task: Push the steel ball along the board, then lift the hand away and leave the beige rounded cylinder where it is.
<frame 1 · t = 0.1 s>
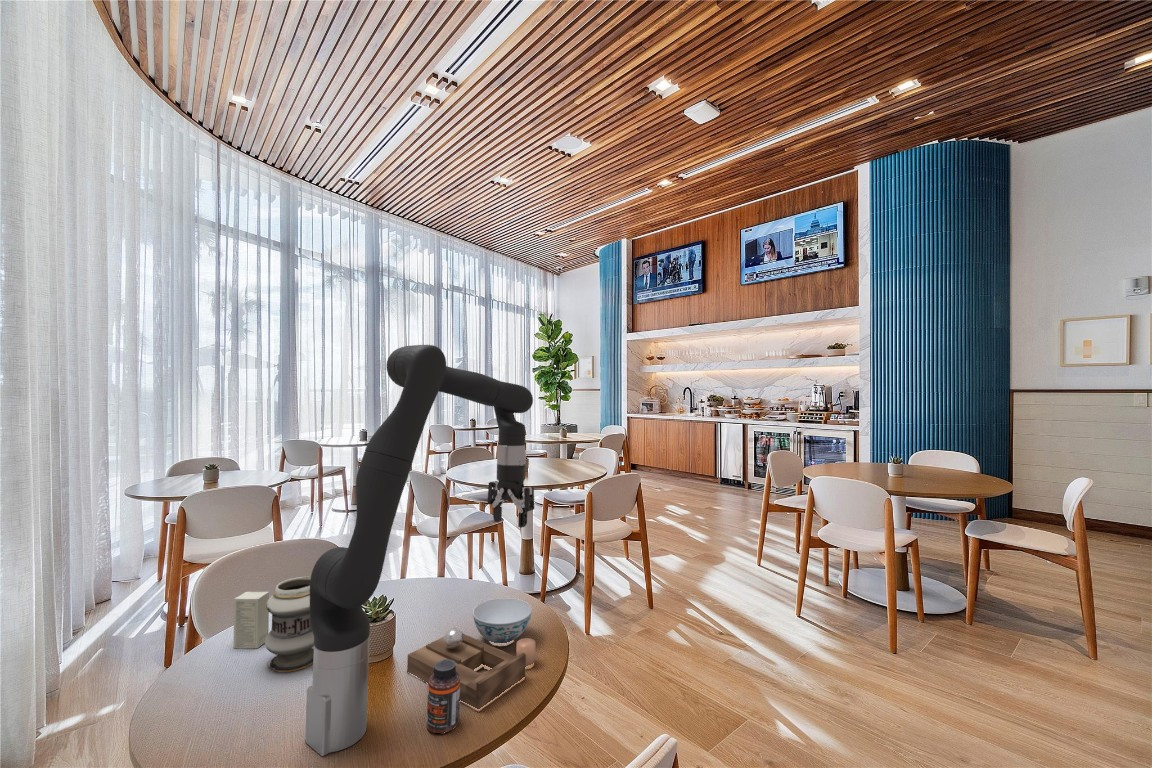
hand: (509, 524, 125), 29 cm above the table, fingers open, 8 cm apart
beige rounded cylinder: (525, 664, 111), on the table
board: (464, 675, 106), on the table
apothecary jar: (294, 661, 111), on the table
chinaware: (501, 641, 122), on the table
skincare box: (250, 645, 118), on the table
supplement bottle: (442, 726, 90), on the table
steel ball: (453, 638, 110), point 6 cm above the table, touching board
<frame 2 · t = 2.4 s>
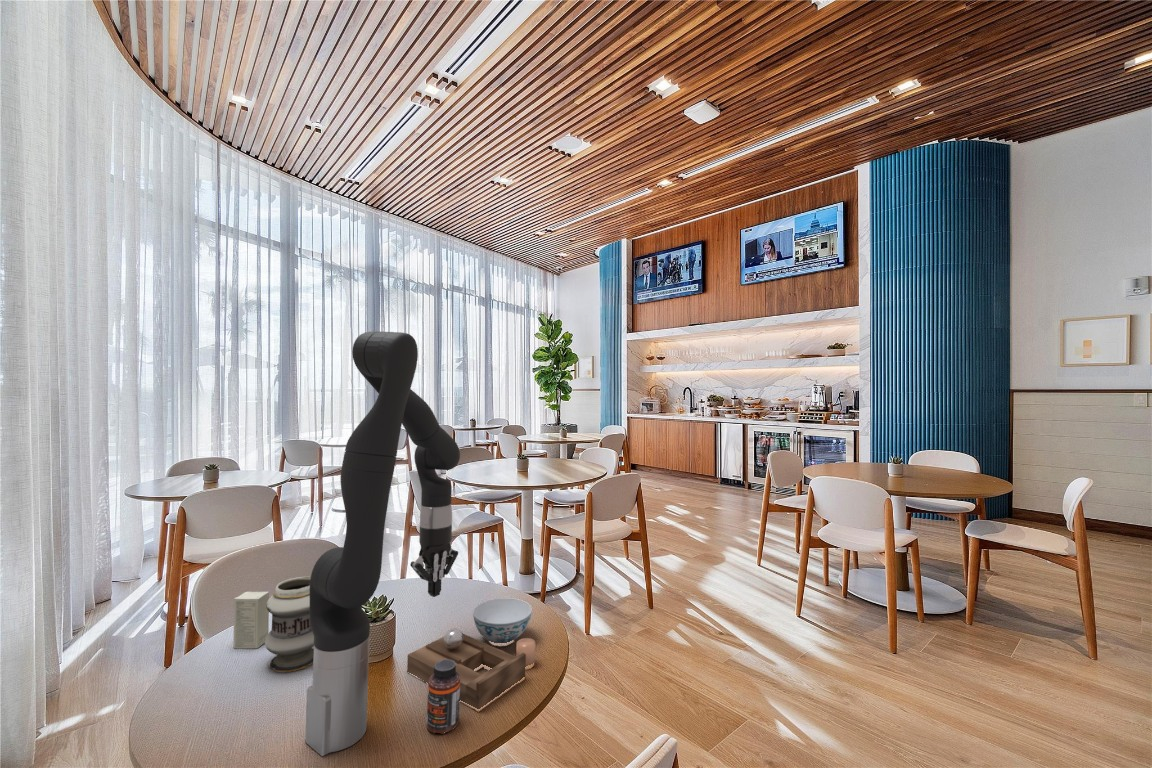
hand: (434, 595, 115), 14 cm above the table, fingers closed
nothing on the table moved.
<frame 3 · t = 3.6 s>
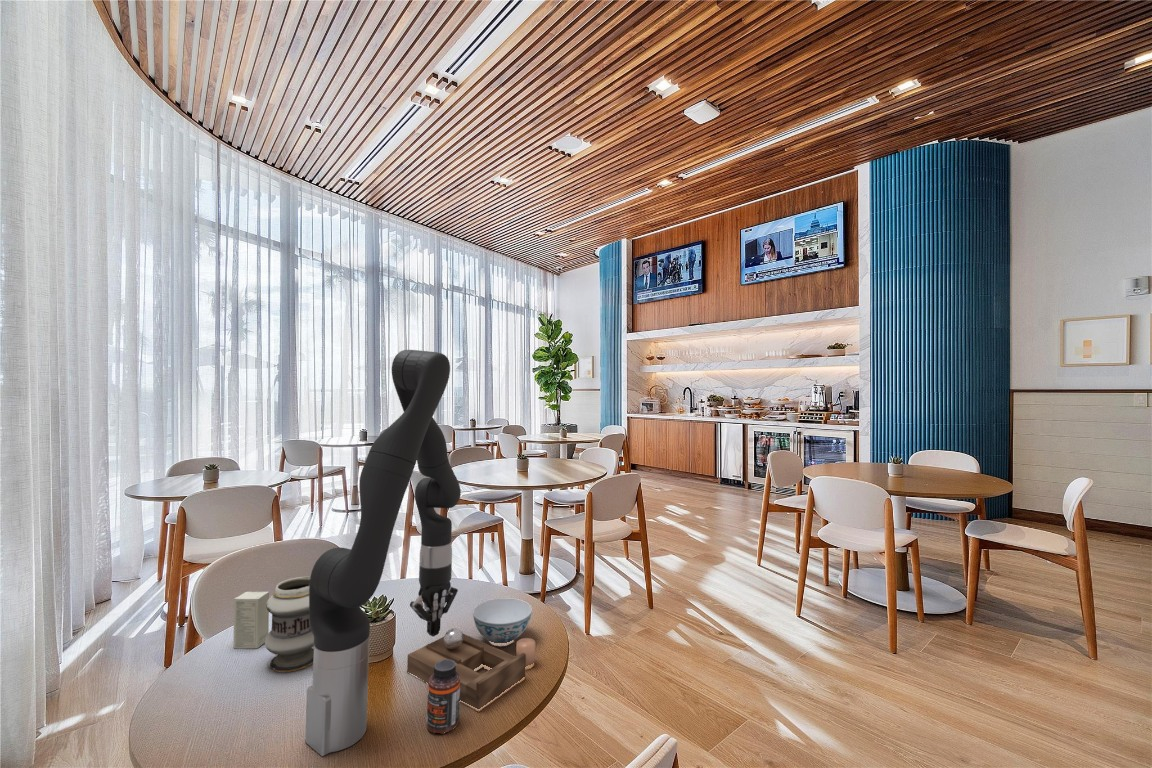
hand: (433, 634, 114), 5 cm above the table, fingers closed
nothing on the table moved.
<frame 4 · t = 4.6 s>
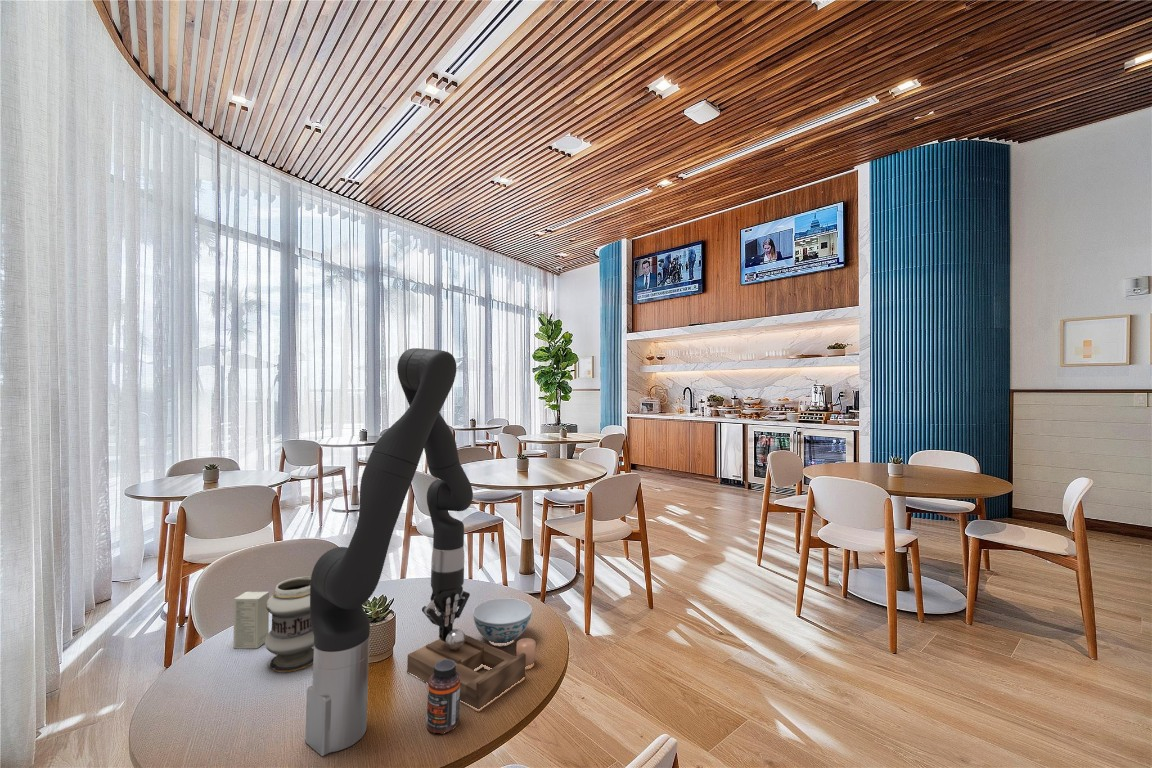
hand: (445, 639, 112), 5 cm above the table, fingers closed
steel ball: (455, 639, 110), point 6 cm above the table, tilted 14°, touching board
everything else where it was.
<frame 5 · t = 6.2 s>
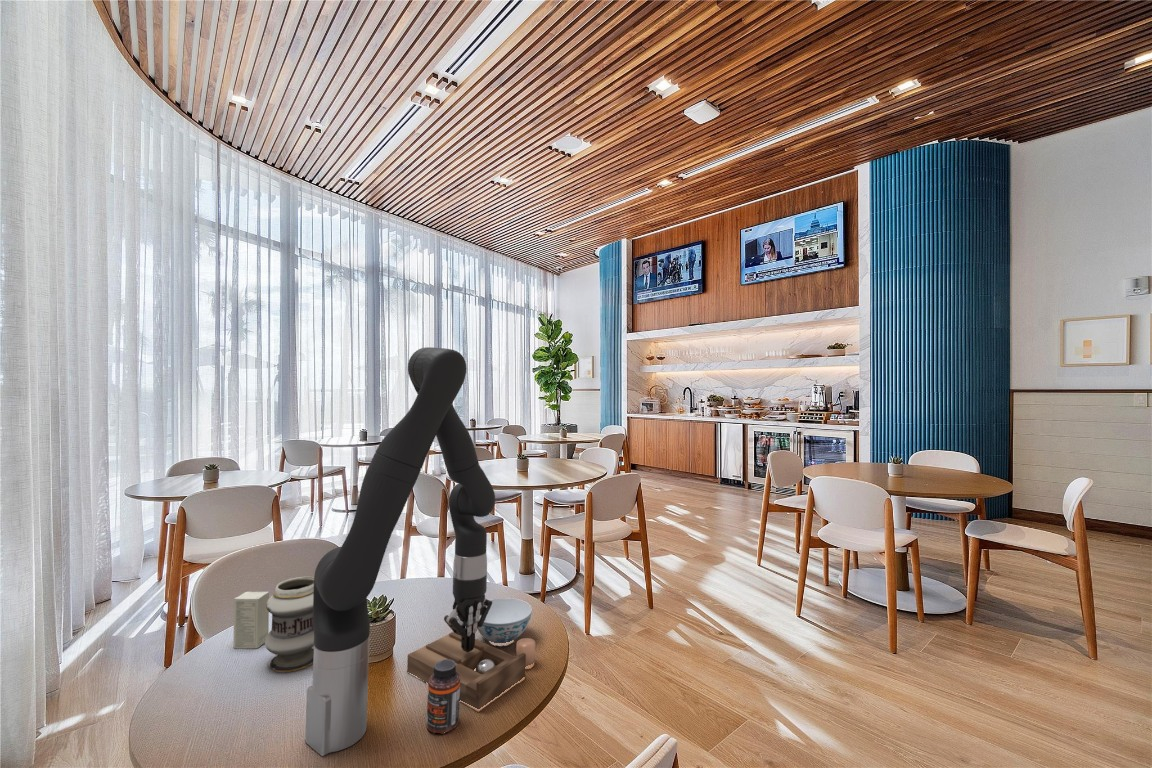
hand: (468, 649, 108), 5 cm above the table, fingers closed
steel ball: (486, 670, 105), point 2 cm above the table, tilted 61°
everything else where it was.
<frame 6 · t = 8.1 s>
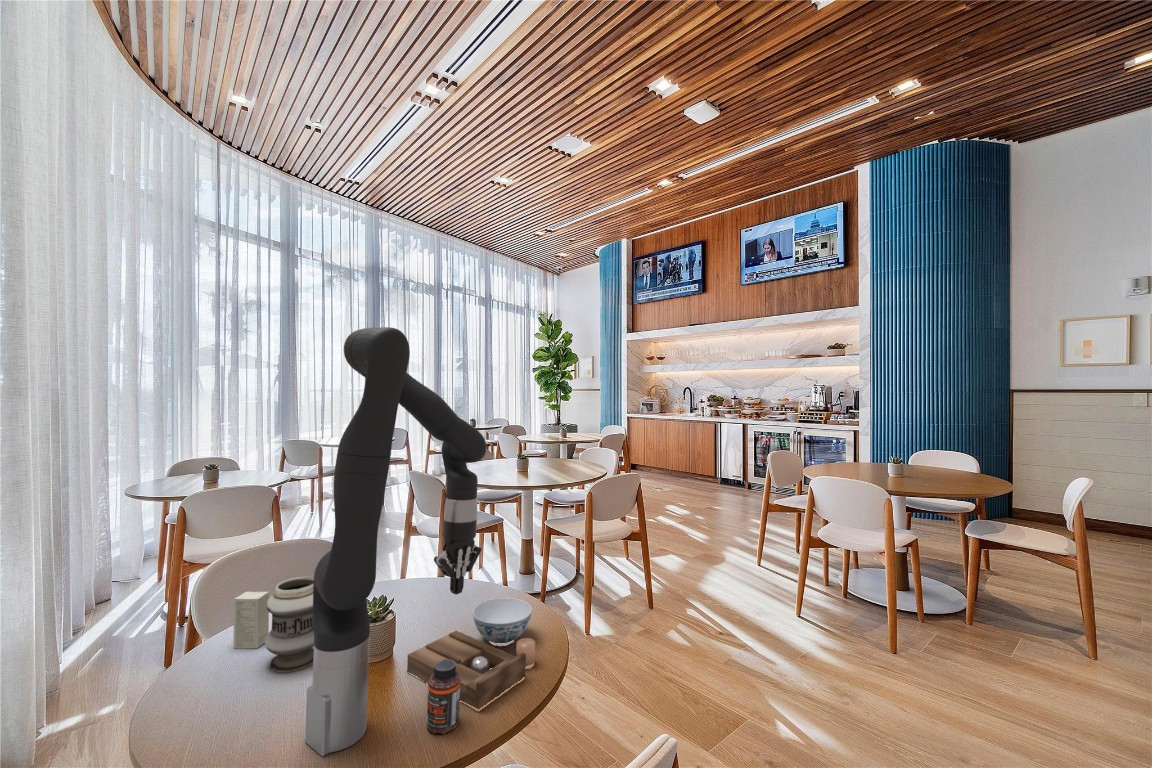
hand: (456, 592, 110), 17 cm above the table, fingers closed
steel ball: (479, 667, 106), point 2 cm above the table, tilted 114°
everything else where it was.
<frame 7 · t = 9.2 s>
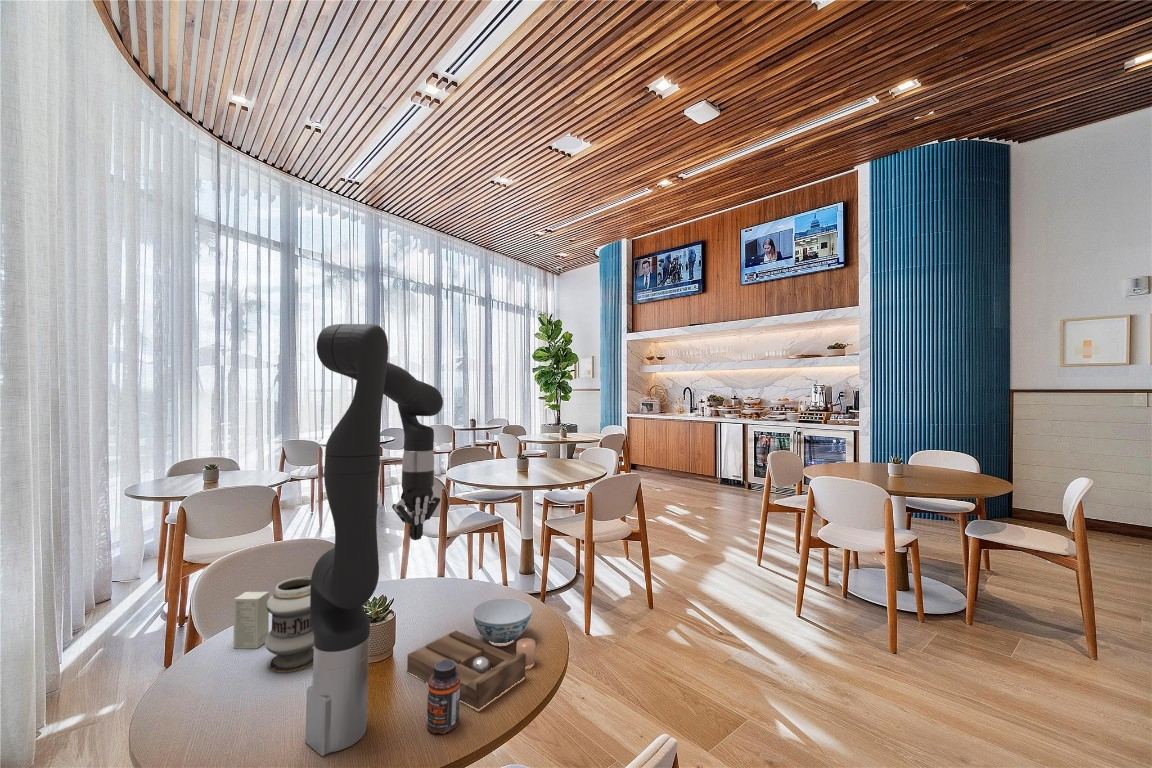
hand: (416, 539, 117), 27 cm above the table, fingers closed
steel ball: (480, 667, 106), point 2 cm above the table, tilted 108°
everything else where it was.
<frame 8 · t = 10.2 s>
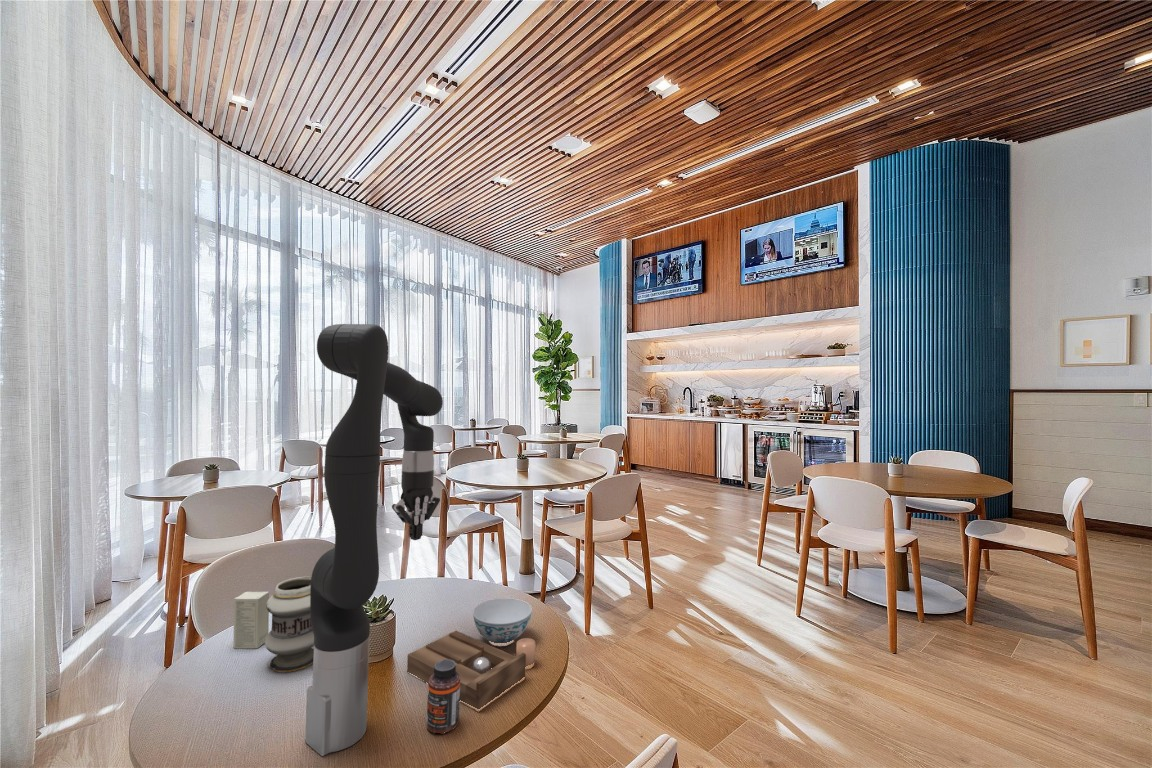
hand: (415, 539, 117), 27 cm above the table, fingers closed
steel ball: (481, 668, 106), point 2 cm above the table, tilted 101°
everything else where it was.
at the end: steel ball inside the target area on the board (0.9 cm from its centre), point 2.2 cm above the board's base; beige rounded cylinder moved 0.1 cm from its start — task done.
